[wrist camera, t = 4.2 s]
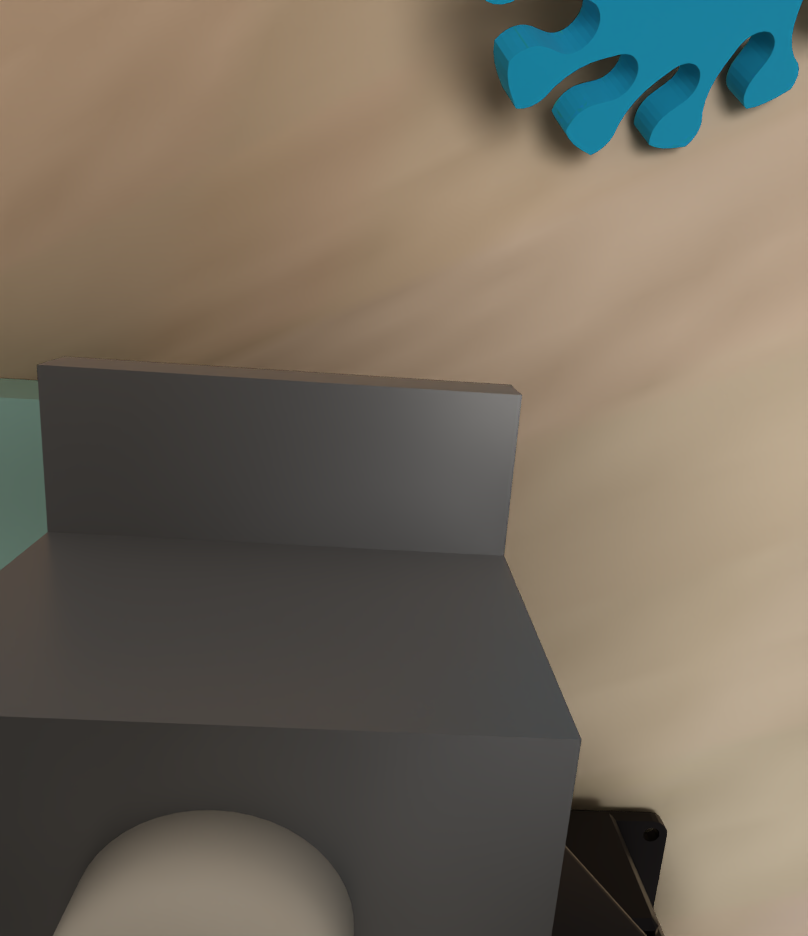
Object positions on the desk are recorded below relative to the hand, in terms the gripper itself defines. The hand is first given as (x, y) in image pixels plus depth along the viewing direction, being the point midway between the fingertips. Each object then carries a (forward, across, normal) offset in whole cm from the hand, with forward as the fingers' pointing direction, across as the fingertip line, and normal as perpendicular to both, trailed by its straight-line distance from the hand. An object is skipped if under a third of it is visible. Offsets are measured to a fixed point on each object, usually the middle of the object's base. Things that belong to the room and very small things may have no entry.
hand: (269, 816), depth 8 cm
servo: (+3, 0, 0) cm, 3 cm away
